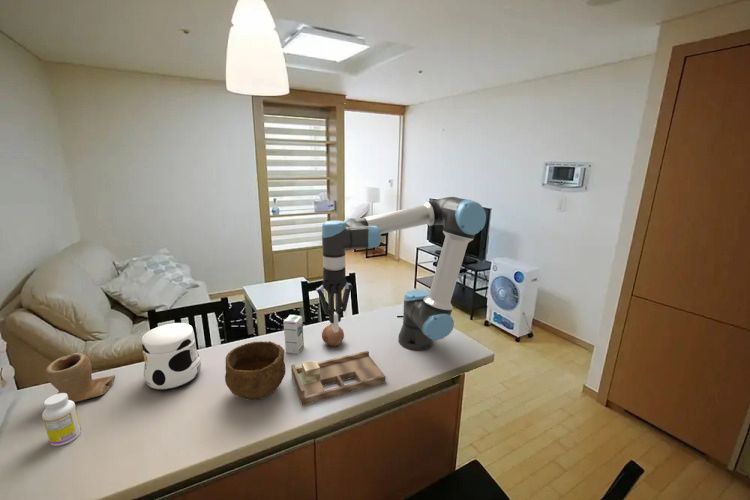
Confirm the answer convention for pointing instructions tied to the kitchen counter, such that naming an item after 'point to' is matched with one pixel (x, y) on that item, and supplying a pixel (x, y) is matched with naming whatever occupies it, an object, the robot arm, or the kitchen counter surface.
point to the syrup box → (293, 334)
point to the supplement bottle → (61, 419)
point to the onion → (332, 336)
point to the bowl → (255, 370)
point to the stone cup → (76, 378)
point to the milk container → (170, 356)
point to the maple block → (311, 370)
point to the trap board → (337, 377)
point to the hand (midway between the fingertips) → (335, 330)
